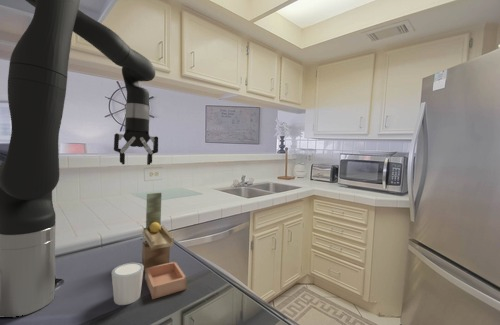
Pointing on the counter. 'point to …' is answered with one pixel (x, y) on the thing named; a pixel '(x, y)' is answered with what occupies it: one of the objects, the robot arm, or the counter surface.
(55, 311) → the counter surface
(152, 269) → the dish
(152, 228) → the ball
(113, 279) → the white cylinder
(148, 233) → the ramp
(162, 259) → the fulcrum
